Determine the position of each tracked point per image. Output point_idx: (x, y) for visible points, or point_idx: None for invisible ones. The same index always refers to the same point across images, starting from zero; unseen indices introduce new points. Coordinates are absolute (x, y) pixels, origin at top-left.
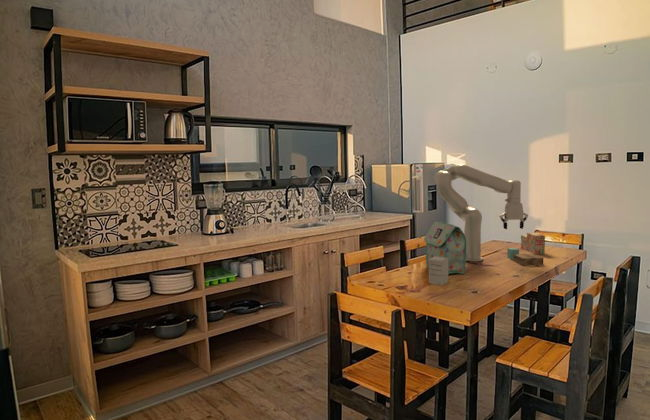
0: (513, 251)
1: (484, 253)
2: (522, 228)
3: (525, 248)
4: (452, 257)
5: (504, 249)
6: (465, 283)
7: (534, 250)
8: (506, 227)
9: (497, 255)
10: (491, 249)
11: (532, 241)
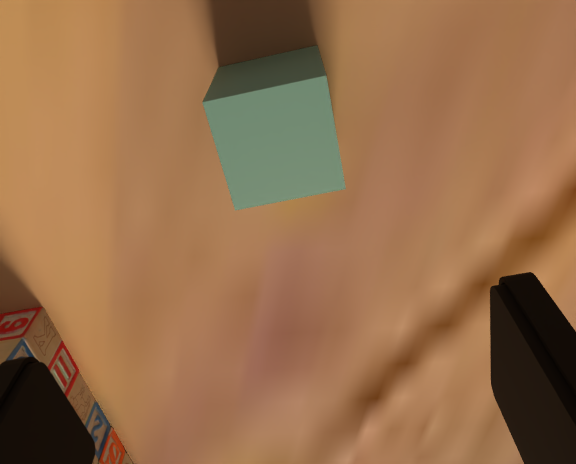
0: (285, 76)
1: None
2: (16, 359)
3: (117, 457)
4: None
5: (283, 459)
6: None
7: (32, 340)
8: (540, 305)
9: (409, 240)
10: (386, 455)
11: None
